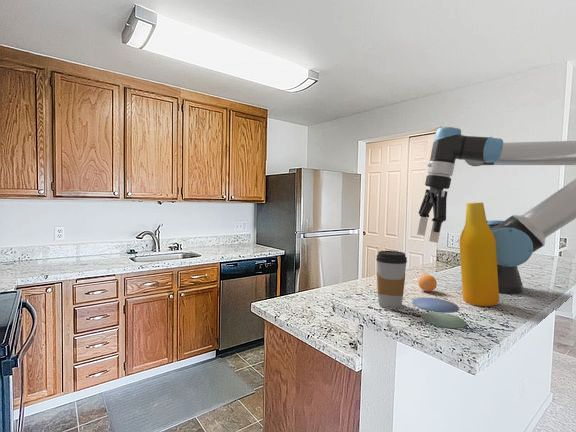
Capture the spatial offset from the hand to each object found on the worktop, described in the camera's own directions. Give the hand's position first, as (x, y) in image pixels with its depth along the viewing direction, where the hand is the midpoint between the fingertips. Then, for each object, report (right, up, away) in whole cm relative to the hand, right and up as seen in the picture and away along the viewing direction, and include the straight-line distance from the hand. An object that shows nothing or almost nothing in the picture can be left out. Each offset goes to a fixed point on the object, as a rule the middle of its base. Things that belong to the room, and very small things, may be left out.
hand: (426, 238), depth 108 cm
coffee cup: (-18, -18, -17) cm, 31 cm away
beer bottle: (+10, -18, -14) cm, 25 cm away
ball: (-1, -14, -3) cm, 15 cm away
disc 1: (-5, -18, -17) cm, 25 cm away
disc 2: (-8, -18, -28) cm, 35 cm away
